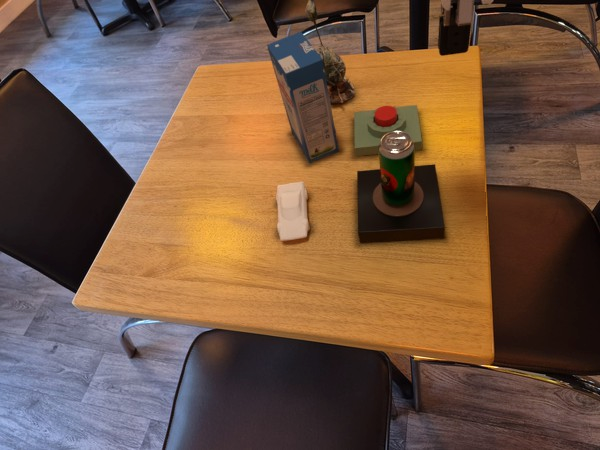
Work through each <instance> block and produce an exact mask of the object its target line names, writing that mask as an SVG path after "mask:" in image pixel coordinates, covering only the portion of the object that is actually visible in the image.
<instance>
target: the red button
mask: <svg viewBox="0 0 600 450" xmlns="http://www.w3.org/2000/svg"><path fill="white" fill-rule="evenodd" d="M379 107H380V108H379ZM379 107H377V108H378V109H377V108H376V109H377V110H376V111H375V123H376V124H377V125H378V126H380V127H390V126H392V125H394V124H395V123H396V121H397V110H396V109H395V108H394V107H395V106H393V107H392V105H381V106H379Z"/></svg>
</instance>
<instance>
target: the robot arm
mask: <svg viewBox="0 0 600 450" xmlns="http://www.w3.org/2000/svg"><path fill="white" fill-rule="evenodd" d="M480 1H481V4H482V5H486V6H489V5H491V4H492V3H493V2H494V0H480ZM474 6H475V0H440V14H441V16H438V17H439V19H438V33H437V34H438V35H437V37H438V38H437V49H438V53H439V56H442V57H444V56H451V55H458V54H465V53H467V52H468V51H469V47H470V38H471V31H472V22H473V20H472V19H473V11H474Z"/></svg>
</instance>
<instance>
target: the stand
mask: <svg viewBox="0 0 600 450" xmlns="http://www.w3.org/2000/svg"><path fill="white" fill-rule="evenodd" d="M356 180H357V181H356V182H357V183H356V184H357V185H356V186H357V188H356V189H357V190H356V191H357V192H356V193H357V234H358V235H357V236H358V241H359V243H360V244H363V243H364V244H365V243H381V242H383V243H384V242H400V241H401V242H402V241H417V240H418V241H419V240H434V239H444V238H445V228H446V225H445V219H444V213H443V206H442V200H441V193H440V187H439V181H438V174H437V166H436V164H434V163H432V164H421V165H415V184H414V197H413V199H412V200H411V201H410V202H409V203H407V204H405V205H402V206H393V205H390V204H388V203H387V202H385V201H384V199H383V197H382V188H381V175H380V168H377V169H366V170H365V169H364V170H357V171H356Z"/></svg>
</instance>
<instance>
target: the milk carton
mask: <svg viewBox="0 0 600 450" xmlns="http://www.w3.org/2000/svg"><path fill="white" fill-rule="evenodd" d="M266 47H267V51H268V54H269V57H270V61H271V64H272V68H273V72H274V75H275V78H276V82H277V86H278V89H279V93H280V97H281V99H282V102H283V107H284V110H285V113H286V117H287V120H288V125H289V127H290V131H291V134H292V136H293V138H294V139H295V141H296V143H297V145H298V147H299V148H300V150H301V151H302V153H303V155H304V157H305V159H306V160H307V163H308V164H312V163H314V162H317V161H319V160H321V159H323V158H326V157H328V156H331V155H333V154H335V153H338V152H340V149H339V143H338V138H337V137H338V136H337V132H336V127H335V121H334V116H333V109H332V103H330V98H329V93H328V87H327V82H326V76H325V71H324V65H323V59H322V58H321V57H320V55H319V54H318V53H317V52H316V51H317V49H315V48H314V46H313V45H312V44H311V43H310V41H309V40H308V39H307V37H306V36H305V35H304V34H303V32H302V31H298V32H295V33H293V34H291V35H288V36H286V37H283V38H279V39H278V40H276V41H273V42H271V43H268V44H266Z"/></svg>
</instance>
